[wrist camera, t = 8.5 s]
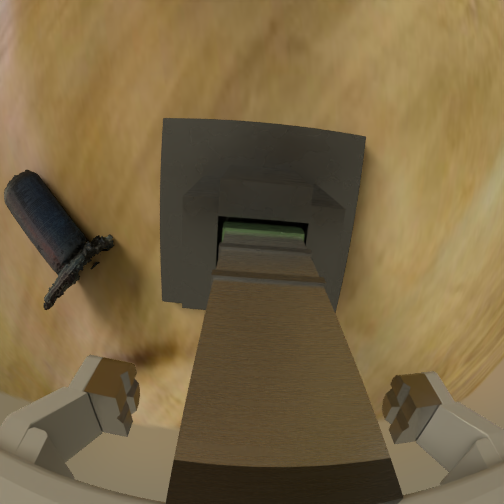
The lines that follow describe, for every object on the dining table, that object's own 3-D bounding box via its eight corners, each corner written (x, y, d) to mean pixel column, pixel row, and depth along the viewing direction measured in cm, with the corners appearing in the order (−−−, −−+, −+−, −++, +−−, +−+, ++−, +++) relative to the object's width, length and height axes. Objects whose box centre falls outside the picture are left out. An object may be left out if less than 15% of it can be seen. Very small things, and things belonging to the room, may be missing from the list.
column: (297, 219, 20) (414, 493, 4) (288, 282, 21) (342, 553, 5) (226, 213, 19) (154, 500, 4) (223, 277, 21) (180, 554, 5)
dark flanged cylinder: (124, 237, 30) (53, 155, 27) (98, 253, 23) (13, 149, 20) (73, 295, 31) (8, 217, 28) (41, 323, 23) (-34, 226, 20)
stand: (358, 136, 25) (411, 141, 16) (330, 302, 31) (358, 369, 22) (169, 119, 25) (125, 114, 15) (167, 291, 30) (137, 355, 21)
